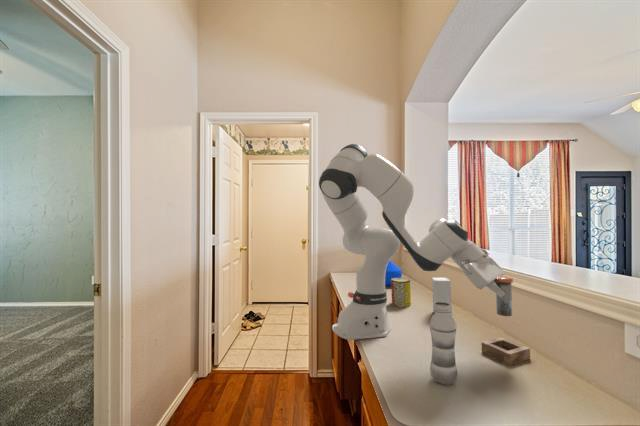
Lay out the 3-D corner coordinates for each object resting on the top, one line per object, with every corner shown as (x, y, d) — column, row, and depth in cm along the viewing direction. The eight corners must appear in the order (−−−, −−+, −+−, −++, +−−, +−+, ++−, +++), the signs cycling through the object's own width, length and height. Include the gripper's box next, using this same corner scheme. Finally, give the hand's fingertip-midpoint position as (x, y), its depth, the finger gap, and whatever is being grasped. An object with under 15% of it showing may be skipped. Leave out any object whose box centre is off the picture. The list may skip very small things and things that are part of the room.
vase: (405, 283, 187) (405, 253, 188) (396, 289, 172) (396, 256, 172) (378, 280, 197) (378, 252, 198) (368, 285, 182) (367, 255, 182)
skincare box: (452, 318, 121) (451, 281, 122) (435, 317, 123) (434, 280, 123) (447, 311, 129) (446, 277, 130) (432, 311, 131) (431, 276, 131)
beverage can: (390, 301, 147) (389, 277, 147) (407, 301, 147) (407, 277, 147) (394, 306, 138) (393, 281, 138) (413, 306, 138) (412, 281, 138)
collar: (510, 364, 83) (509, 354, 83) (481, 351, 91) (481, 342, 91) (530, 358, 86) (529, 348, 86) (501, 346, 94) (500, 337, 95)
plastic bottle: (425, 375, 78) (424, 300, 78) (449, 373, 79) (447, 299, 79) (437, 389, 72) (435, 308, 72) (463, 387, 72) (461, 307, 72)
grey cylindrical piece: (506, 317, 85) (505, 280, 86) (491, 312, 90) (490, 277, 90) (517, 315, 87) (516, 278, 87) (502, 310, 92) (501, 276, 92)
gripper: (466, 255, 86) (505, 294, 79) (487, 249, 101) (521, 281, 94) (451, 269, 90) (488, 307, 82) (473, 261, 104) (505, 293, 97)
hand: (505, 293), depth 88 cm, fingers closed on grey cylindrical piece, 4 cm apart
